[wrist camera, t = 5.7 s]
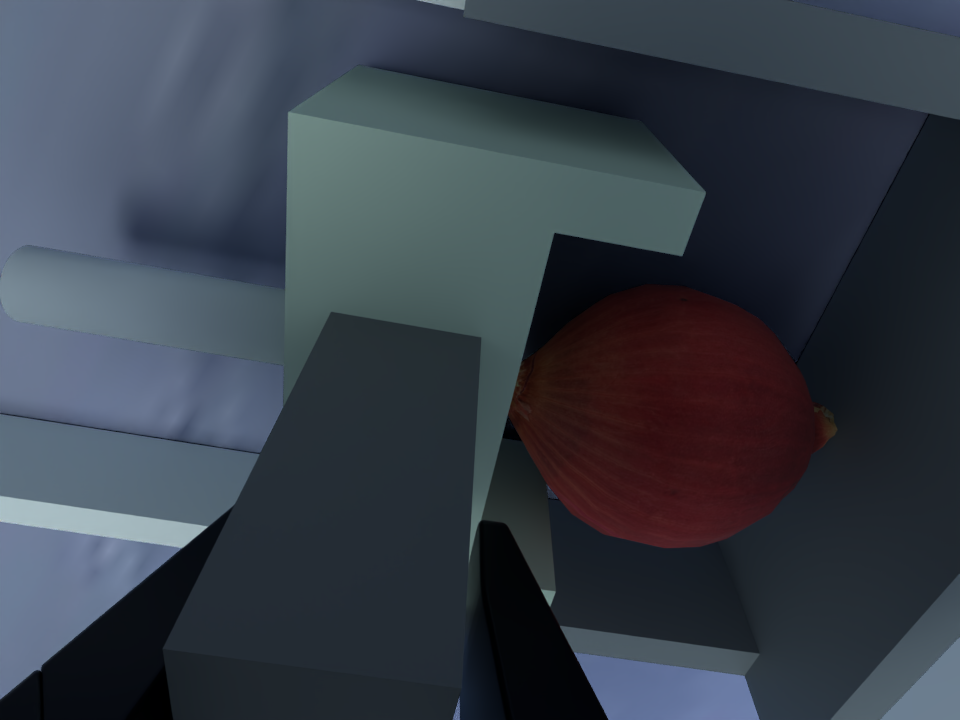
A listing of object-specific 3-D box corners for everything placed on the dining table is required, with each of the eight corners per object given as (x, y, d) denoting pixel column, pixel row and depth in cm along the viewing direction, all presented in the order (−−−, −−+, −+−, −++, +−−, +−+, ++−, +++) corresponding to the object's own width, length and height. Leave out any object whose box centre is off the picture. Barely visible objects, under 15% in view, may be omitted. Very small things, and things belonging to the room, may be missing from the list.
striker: (535, 470, 19) (569, 979, 9) (119, 405, 18) (-307, 891, 8) (641, 120, 13) (968, 480, 4) (57, 5, 12) (-1265, 109, 3)
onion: (467, 459, 17) (733, 488, 19) (498, 591, 12) (874, 619, 13) (505, 248, 16) (791, 295, 17) (562, 285, 10) (978, 351, 12)
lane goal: (728, 549, 21) (819, 782, 15) (-380, 380, 18) (-799, 577, 12) (1011, 57, 13) (1444, 132, 7) (-862, -346, 11) (-2614, -751, 5)
